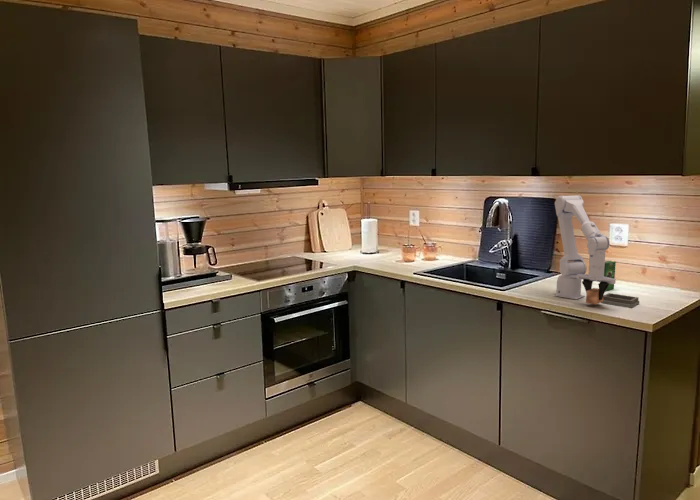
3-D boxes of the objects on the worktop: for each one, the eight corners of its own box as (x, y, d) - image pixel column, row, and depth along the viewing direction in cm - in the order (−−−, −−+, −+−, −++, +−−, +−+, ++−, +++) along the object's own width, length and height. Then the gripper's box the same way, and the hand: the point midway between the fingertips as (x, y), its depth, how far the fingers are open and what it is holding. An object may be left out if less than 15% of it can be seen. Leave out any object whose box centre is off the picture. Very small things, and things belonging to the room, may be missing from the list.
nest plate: (600, 302, 219) (600, 296, 219) (608, 298, 225) (609, 292, 225) (631, 308, 211) (631, 301, 210) (639, 303, 217) (639, 297, 216)
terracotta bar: (585, 302, 214) (586, 290, 213) (593, 299, 219) (593, 287, 218) (596, 304, 211) (596, 292, 211) (603, 301, 216) (603, 289, 215)
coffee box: (608, 287, 245) (610, 260, 243) (614, 289, 242) (616, 260, 240) (598, 290, 240) (600, 262, 238) (604, 291, 238) (606, 263, 236)
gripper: (574, 265, 215) (572, 297, 217) (611, 269, 205) (609, 303, 207) (581, 262, 220) (580, 294, 222) (618, 267, 210) (616, 300, 212)
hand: (594, 298), depth 215 cm, fingers closed on terracotta bar, 4 cm apart
